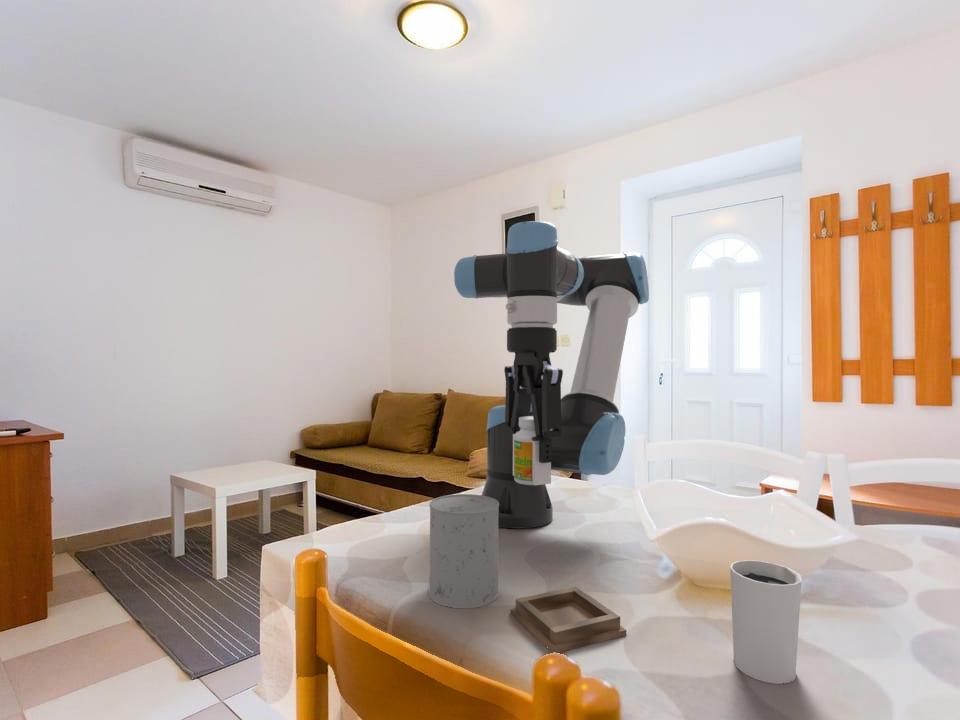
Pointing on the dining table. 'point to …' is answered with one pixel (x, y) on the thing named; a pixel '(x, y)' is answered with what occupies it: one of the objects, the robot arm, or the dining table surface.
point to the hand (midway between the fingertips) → (531, 479)
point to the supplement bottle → (524, 450)
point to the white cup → (765, 619)
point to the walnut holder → (567, 619)
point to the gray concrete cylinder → (463, 550)
